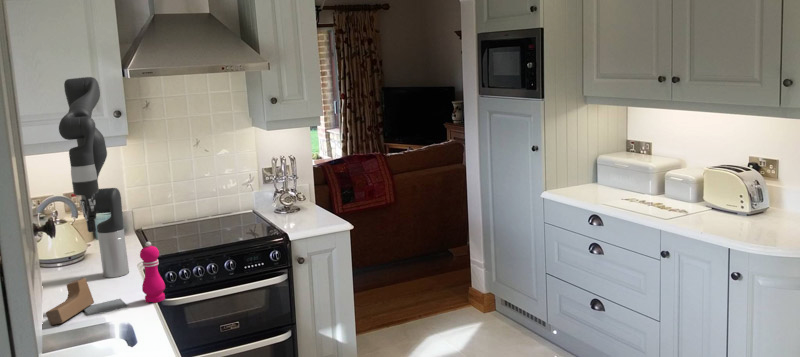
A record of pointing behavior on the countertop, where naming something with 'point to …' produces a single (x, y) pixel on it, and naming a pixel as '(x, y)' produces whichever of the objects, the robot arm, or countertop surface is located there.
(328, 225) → the countertop surface
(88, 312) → the grey mat
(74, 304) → the wooden block
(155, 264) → the pepper mill
